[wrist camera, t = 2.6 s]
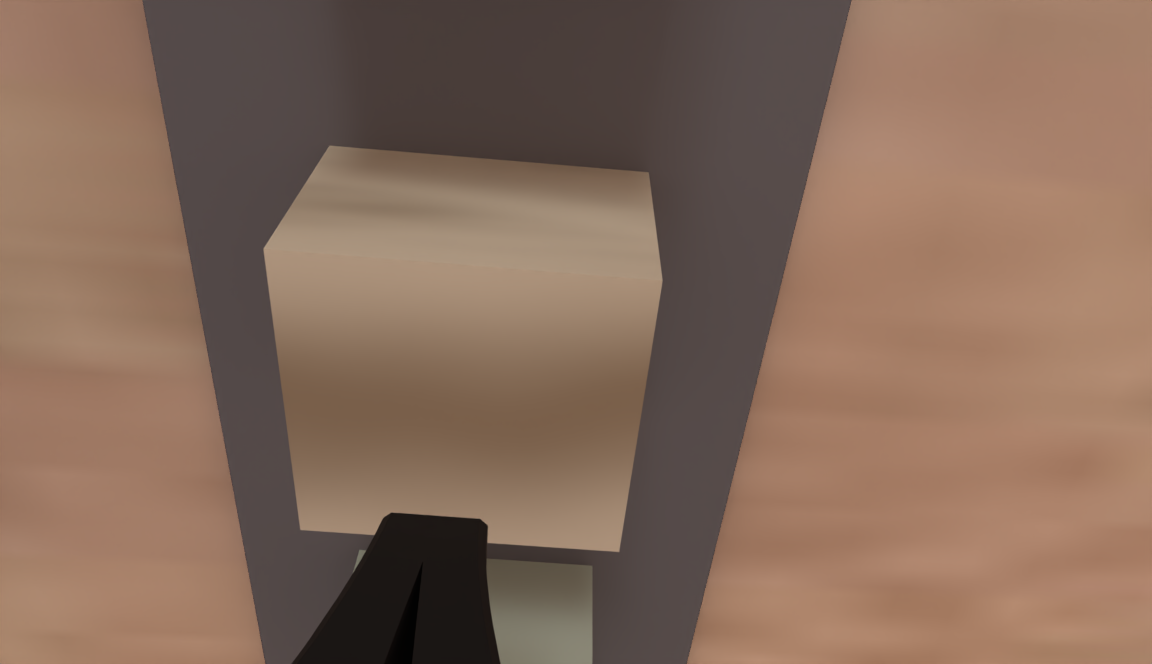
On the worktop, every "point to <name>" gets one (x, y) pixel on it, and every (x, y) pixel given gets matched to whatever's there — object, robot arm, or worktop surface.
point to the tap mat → (515, 133)
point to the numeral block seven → (539, 611)
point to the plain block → (465, 342)
